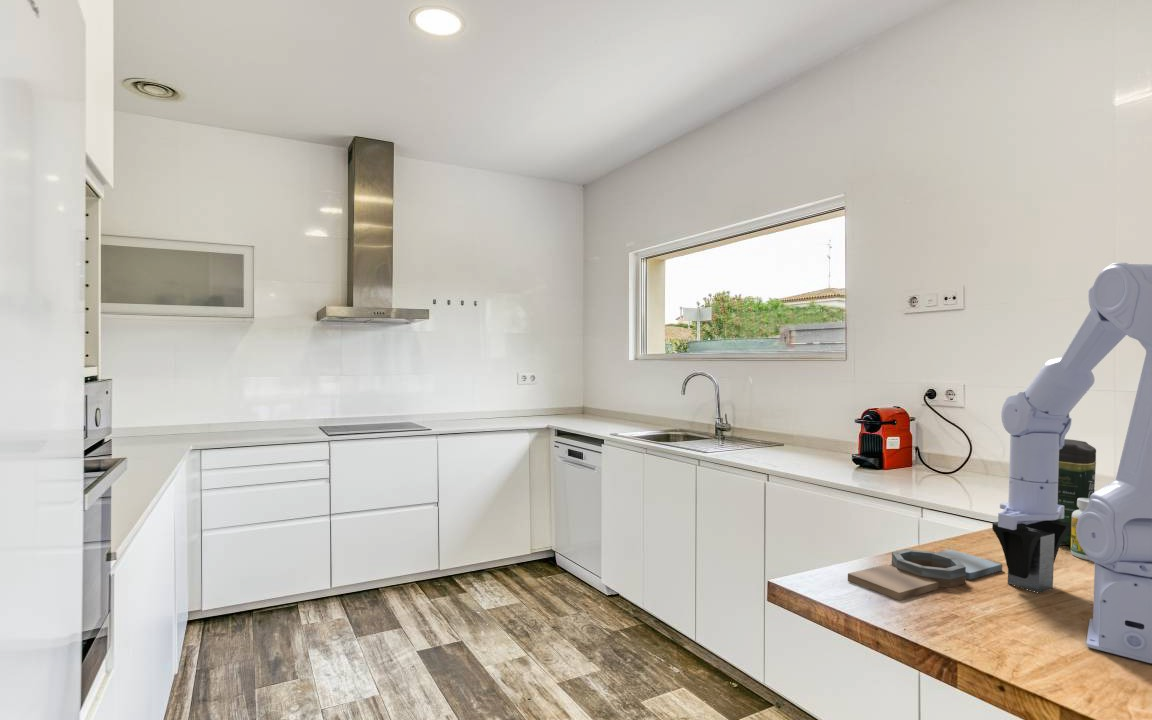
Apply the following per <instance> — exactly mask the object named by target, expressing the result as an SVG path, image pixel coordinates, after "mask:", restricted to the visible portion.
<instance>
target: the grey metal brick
mask: <svg viewBox="0 0 1152 720" xmlns="http://www.w3.org/2000/svg"><path fill="white" fill-rule="evenodd" d="M1026 528H1028V527H1026ZM1028 530H1029V531H1033V532H1037V533H1041V534H1042V536H1041V537H1040V539H1039V540H1038V542H1037V544H1036V546H1035V549H1034V552H1033V555H1032V560H1031V567H1030V572H1029V575H1028V577H1027V578H1025V579H1024V578H1021V577H1017V576H1014V575H1010V574H1009V571H1008V570H1007V584H1008V585H1010V584H1012V585H1011V586H1013V585H1015V586H1014V587H1016V586H1019V587H1022V588H1024V589H1023V590H1026V589H1028V590H1027V591H1029V590H1031V591H1030V592H1032V591H1035V592H1038V593H1037V594H1041V593H1040V592H1042V593H1044V591H1045V592H1047V590H1048V591H1050V590H1049V589H1051V590H1053V588H1054V565H1055V562H1054V537H1055V534H1054V533H1050V532H1046V531H1041V530H1037V529H1033V528H1028ZM1019 587H1018V588H1019ZM1022 588H1021V589H1022ZM1035 592H1034V593H1035Z"/></svg>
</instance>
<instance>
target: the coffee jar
mask: <svg viewBox="0 0 1152 720" xmlns="http://www.w3.org/2000/svg"><path fill="white" fill-rule="evenodd" d="M1096 466H1097V449H1096V447H1094V446H1092V445H1091V444H1089V443H1088V442H1086V441H1083V440H1078V439H1067V438H1065V439H1064V446H1063V448H1062V449H1060V450H1059V471H1058V505H1063V506H1064V518H1063V519H1058V521H1062V522H1067V523H1070V524H1071V521H1072V513H1073V512H1074V511H1075V510H1079V507H1077V499H1078V498H1090V495H1091V494H1093V493H1094V492H1095V487H1096V486H1095V484H1096V481H1095V480H1096V468H1097V467H1096ZM1066 545H1068V546H1071V530H1070V531H1069V532H1068V533H1067V535H1066V536H1065V537H1064V539H1063V541H1062V543H1061V545H1060V546H1066Z"/></svg>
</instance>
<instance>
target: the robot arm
mask: <svg viewBox="0 0 1152 720" xmlns="http://www.w3.org/2000/svg"><path fill="white" fill-rule="evenodd" d="M1088 304H1089V309H1090V310H1089V312H1088V313H1087V316H1086V317H1085V318H1084V320H1083V322H1082V324H1081V325H1080V327H1079V329H1078V330H1077V332H1076V334H1075V335H1074V337H1073V339H1072V340H1071V343H1070V344H1069V345H1068V347H1067V349H1066V350H1065V352H1064V354H1063V355H1062V357H1061V356H1060V357H1053V358H1051V359H1048V360H1047V361H1046V362H1045V363H1044V365H1043V366H1042V368H1041V369H1040V370H1039V371H1038V373H1037V374H1036V376H1035V377H1034V378H1033V380H1032V381H1031V383H1030V384H1029V385H1028V387H1027V388H1026V389H1025V391H1019V392H1018V393H1017V394H1012V395H1009V396H1008V397H1007V398H1006V399H1005V401H1004V403H1003V406H1002V409H1001V422H1002V426H1003V428H1004V429H1005V431H1006V432H1007V433H1008V434H1010V437H1009V438H1010V442H1009V473H1008V474H1009V475H1008V476H1009V477H1008V502H1003V503H999V509H1002V510H1003V511H1002V512H999V513H997V514H998V515H997V521H995V522H994V521H993V522H992V526H991V527H992V531H993V532H994V534H995V535H996V538H997V540H998V542H999V543H1000V545H1001V549H1002V551H1003V556H1004V558H1005V563H1006V567H1007V572H1008V571H1009V574H1010V575H1014V576H1017V577H1021V578H1024V579H1025V578H1027V577H1028V575H1029V572H1030V567H1031V560H1032V555H1033V552H1034V549H1035V546H1036V544H1037V542H1038V540H1039V539H1040V537H1041V536H1042V534H1041V533H1037V532H1033V531H1029V530H1028V528H1033V529H1037V530H1041V531H1046V532H1050V533H1054V534H1055V537H1054V563H1055V561H1056V558H1057V555H1058V552H1059V550H1060V546H1062V545H1061V543H1062V541H1063V539H1064V537H1065V536H1066V535H1067V533H1068V532H1069V531H1070V530H1071V524H1070V523H1067V522H1062V521H1058V519H1063V518H1064V506H1063V505H1058V471H1059V450H1060V449H1062V448H1063V446H1064V439H1066V435H1067V433H1068V432H1069V430H1070V428H1071V425H1072V421H1073V420H1072V417H1071V418H1070V413H1071V411H1072V410H1073V409H1074V408H1075V407H1076V405H1077V404H1078V403H1079V402H1080V401H1081V399H1082V398H1083V397H1084V396H1085V395H1086V394H1087V393H1088V392H1089V390H1090V389H1091V387H1092V386H1093V385H1094V384H1095V376H1094V374H1093V371H1092V370H1094V369H1095V368H1096V367H1097V366H1098V364H1099V363H1101V361H1102V360H1104V359H1105V357H1106V356H1107V355H1109V353H1111V351H1112V350H1113V349H1114V348H1115V347H1117V346H1118V344H1119V343H1120V342H1122V340H1123V339H1124V338H1125V337H1126V336H1128V337H1129V338H1131V339H1133V340H1136V341H1138V342H1139V343H1140V345H1141V346H1142V347H1143V348H1144V350H1145V357H1144V361H1143V365H1142V368H1141V373H1140V377H1139V382H1138V386H1137V391H1136V393H1135V398H1134V403H1133V406H1132V410H1131V415H1130V419H1129V422H1128V428H1127V430H1126V436H1125V440H1124V443H1123V444H1124V445H1123V448H1122V453H1121V457H1120V461H1119V464H1118V467H1117V472H1116V477H1115V480H1113V481H1111V482H1110V483H1108V484H1106V485H1105V486H1103V487H1101V488H1100V489H1098V490H1096V491H1094V493H1093V494H1091V495H1090V499H1089V503H1088V506H1087V508H1086V509H1085V510H1084V511H1083V513H1082V514H1081V515H1080V517H1079V519H1078V522H1077V525H1076V535H1077V539H1078V542H1079V544H1080V546H1081V548H1082V549H1083V551H1084V552H1085V554H1086V555H1087V556H1088V559H1089V560H1088V561H1089V562H1093V563H1094V572H1093V573H1094V579H1093V582H1094V583H1093V607H1092V608H1093V611H1092V618H1089V620H1088V621H1089V622H1088V627H1087V628H1088V629H1087V634H1086V642H1085V643H1086V644H1085V645H1086V646H1087V647H1088V648H1091V649H1092V650H1093V649H1094V650H1097V651H1102V652H1106V653H1109V654H1114V655H1116V656H1121V657H1125V658H1128V659H1131V660H1136V661H1141V662H1143V663H1147V664H1152V263H1149V264H1148V263H1127V262H1113V263H1111V264H1109V265H1107V266H1106V267H1104V268H1103V269H1102V270H1101V271H1100V272H1099V274H1098V275H1097V277H1096V279H1095V281H1094V283H1093V285H1092V286H1091V288H1089V290H1088ZM1026 527H1028V528H1026Z"/></svg>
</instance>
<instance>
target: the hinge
mask: <svg viewBox="0 0 1152 720" xmlns="http://www.w3.org/2000/svg"><path fill="white" fill-rule="evenodd" d="M1001 570H1002V571H1003V564H1002V563H999V562H996V561H992V560H989V559H986V558H983V557H979V556H976V555H972V554H968V553H964V552H961V551H958V550H954V549H950V548H949V549H945V550H942V551H937V552H935V551H930V550H918V549H908V548H905V549H901V550H897V551H893V552H891V565H889V564H882V565H879V566H875V567H874V566H873V567H870V568H865V569H862V570H856V571H853V572H849V573H847V581H848V582H851V583H854V584H856V585H859V586H862V587H864V588H866V589H869V590H872V591H873V592H878V593H880V594H883V595H885V596H887V597H890V598H893V599H895V600H899V601H901V600H905V599H908V598H912V597H915V596H919V595H922V594H925V593H929V592H931V591H936V590H938V589H939V587H943V588H954V587H958V586H961V585H963V584H966V580H971V581H972V580H974V579H977V578H982V577H985V576H988V575H991V573H992V574H995V573H998V571H999V572H1001ZM994 572H995V573H994ZM984 575H985V576H984Z"/></svg>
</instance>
